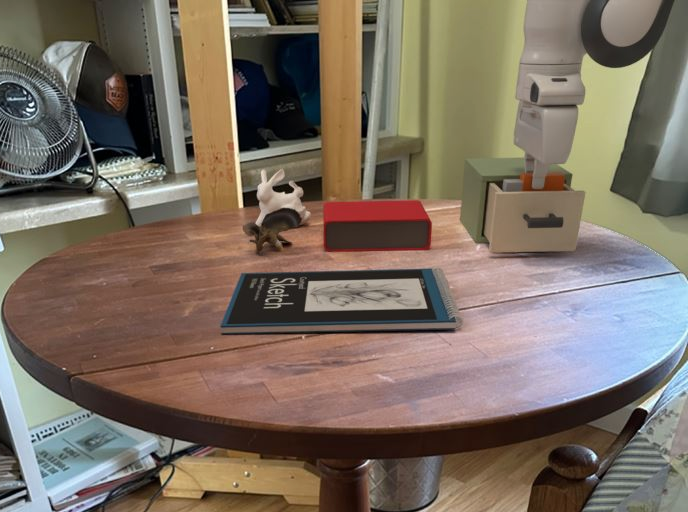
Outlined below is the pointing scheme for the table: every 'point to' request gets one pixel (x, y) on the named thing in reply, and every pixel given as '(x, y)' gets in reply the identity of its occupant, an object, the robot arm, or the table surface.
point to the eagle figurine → (273, 227)
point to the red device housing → (376, 226)
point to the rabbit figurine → (279, 198)
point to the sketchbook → (341, 302)
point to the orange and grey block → (523, 184)
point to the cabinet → (475, 187)
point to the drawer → (531, 219)
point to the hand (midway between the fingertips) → (533, 185)
